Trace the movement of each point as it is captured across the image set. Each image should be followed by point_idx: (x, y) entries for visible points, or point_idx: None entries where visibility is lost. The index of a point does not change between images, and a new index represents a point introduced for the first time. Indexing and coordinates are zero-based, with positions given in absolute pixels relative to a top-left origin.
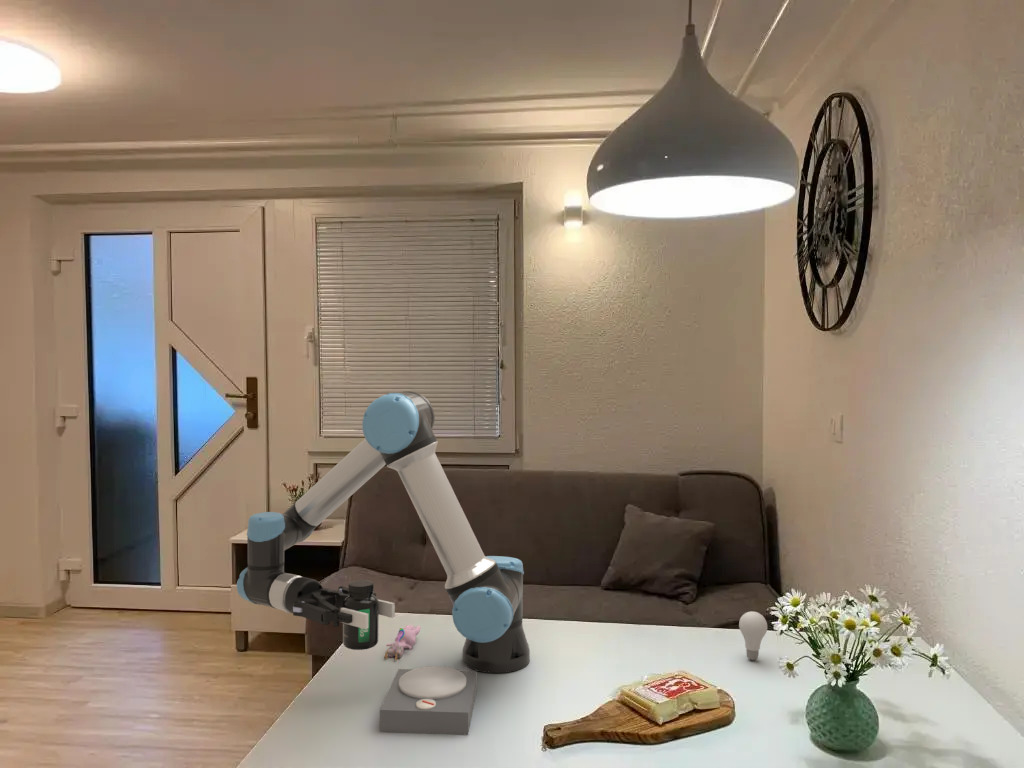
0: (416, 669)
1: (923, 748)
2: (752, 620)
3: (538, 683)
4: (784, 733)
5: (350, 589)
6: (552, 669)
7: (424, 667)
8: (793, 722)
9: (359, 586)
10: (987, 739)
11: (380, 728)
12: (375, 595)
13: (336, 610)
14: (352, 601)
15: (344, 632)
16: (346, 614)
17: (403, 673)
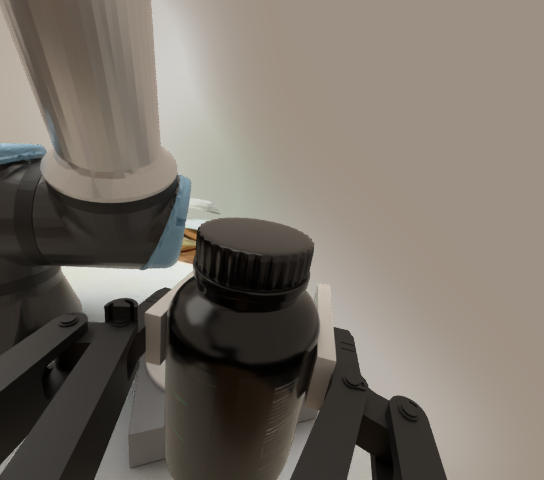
0: (163, 377)
1: (208, 207)
2: None
3: (126, 291)
4: None
5: (308, 265)
6: (81, 284)
7: (152, 367)
8: (192, 219)
9: (300, 232)
10: (197, 200)
11: (316, 413)
12: (82, 316)
13: (358, 374)
14: (309, 300)
15: (291, 436)
16: (339, 342)
17: (158, 412)
